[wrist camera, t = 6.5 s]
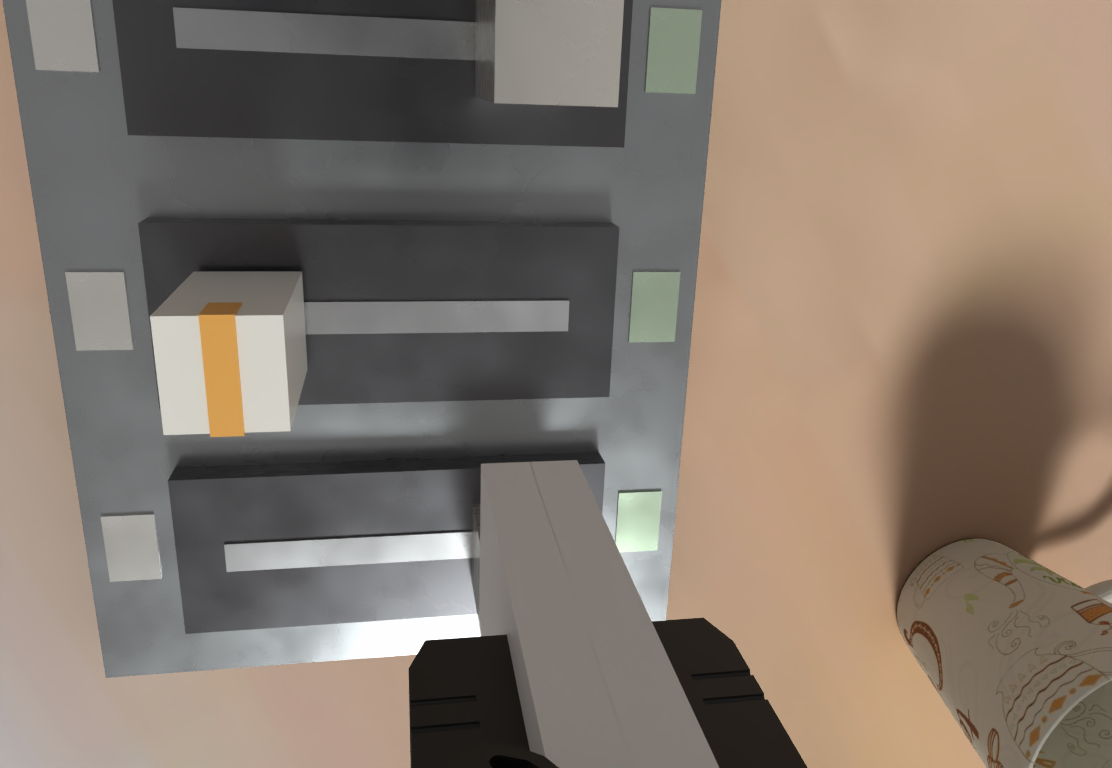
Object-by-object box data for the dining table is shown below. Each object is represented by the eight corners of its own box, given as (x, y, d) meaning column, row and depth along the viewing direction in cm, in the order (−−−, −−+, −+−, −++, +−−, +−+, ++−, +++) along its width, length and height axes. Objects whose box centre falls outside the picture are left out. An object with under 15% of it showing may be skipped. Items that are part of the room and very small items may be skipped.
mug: (856, 551, 37) (1012, 712, 28) (1129, 453, 38) (1370, 577, 29) (884, 703, 40) (1034, 894, 31) (1136, 609, 41) (1356, 767, 32)
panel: (4, -175, 24) (-166, -283, 17) (710, -118, 28) (827, -186, 20) (122, 643, 33) (43, 812, 25) (650, 606, 36) (717, 745, 29)
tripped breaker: (193, 269, 25) (148, 315, 21) (301, 269, 26) (282, 314, 21) (203, 372, 26) (162, 438, 22) (307, 370, 27) (290, 434, 22)
